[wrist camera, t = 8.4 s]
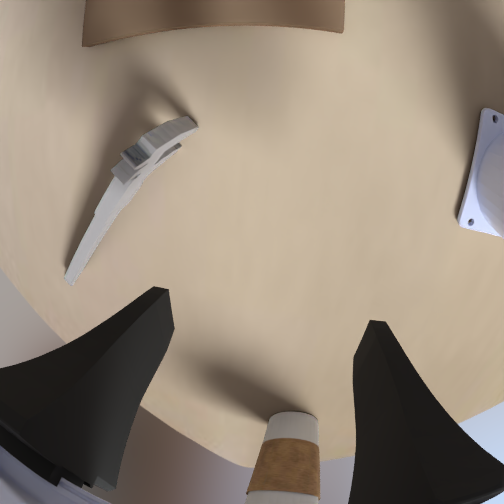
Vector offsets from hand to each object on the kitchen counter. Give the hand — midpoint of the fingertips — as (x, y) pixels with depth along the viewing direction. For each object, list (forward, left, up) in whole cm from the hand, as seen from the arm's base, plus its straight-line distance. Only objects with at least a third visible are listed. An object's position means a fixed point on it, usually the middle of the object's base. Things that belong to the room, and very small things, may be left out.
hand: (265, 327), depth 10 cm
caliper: (+13, +2, -10) cm, 16 cm away
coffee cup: (-4, +25, -10) cm, 28 cm away
